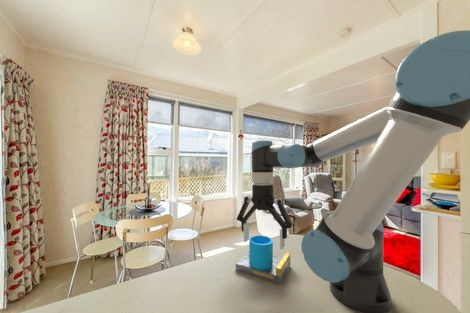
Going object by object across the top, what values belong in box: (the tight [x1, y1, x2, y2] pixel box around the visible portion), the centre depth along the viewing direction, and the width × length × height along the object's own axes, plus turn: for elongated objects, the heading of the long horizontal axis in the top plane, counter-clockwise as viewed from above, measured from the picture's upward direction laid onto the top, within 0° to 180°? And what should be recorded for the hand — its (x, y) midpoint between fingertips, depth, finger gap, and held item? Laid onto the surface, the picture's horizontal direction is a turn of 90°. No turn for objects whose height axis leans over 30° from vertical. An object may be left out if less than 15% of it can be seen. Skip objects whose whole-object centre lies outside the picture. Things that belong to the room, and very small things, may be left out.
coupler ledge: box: [235, 251, 291, 286], centre depth 73 cm, size 16×12×5 cm
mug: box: [248, 235, 274, 270], centre depth 74 cm, size 12×8×8 cm
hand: (263, 244), depth 72 cm, fingers open, 13 cm apart
